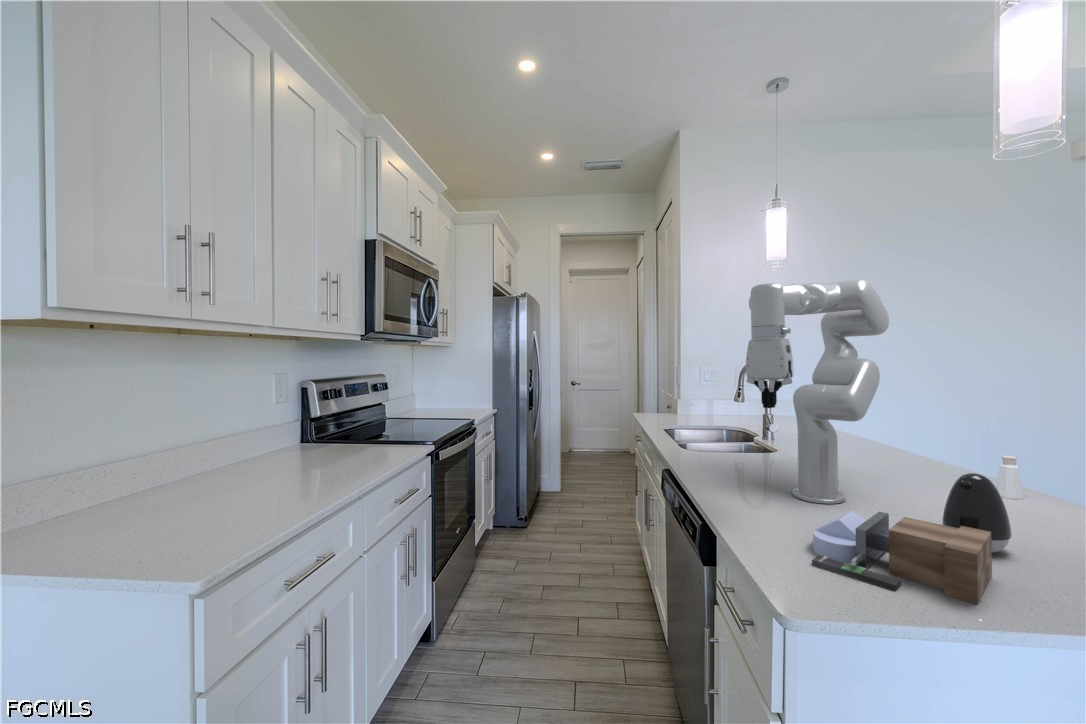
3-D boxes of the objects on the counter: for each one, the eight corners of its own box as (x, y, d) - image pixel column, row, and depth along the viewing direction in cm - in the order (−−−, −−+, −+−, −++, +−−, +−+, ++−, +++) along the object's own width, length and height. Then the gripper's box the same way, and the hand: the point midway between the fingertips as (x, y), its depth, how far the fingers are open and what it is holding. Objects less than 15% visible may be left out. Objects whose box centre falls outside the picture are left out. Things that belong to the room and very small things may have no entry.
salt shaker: (991, 492, 128) (990, 453, 128) (1015, 494, 127) (1015, 454, 127) (1003, 498, 123) (1003, 457, 123) (1029, 500, 122) (1028, 458, 121)
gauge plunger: (879, 545, 94) (879, 511, 94) (946, 562, 86) (945, 525, 86) (848, 572, 83) (847, 533, 83) (921, 594, 75) (920, 552, 75)
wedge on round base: (830, 535, 101) (806, 552, 93) (829, 505, 101) (805, 519, 93) (879, 548, 94) (857, 567, 86) (878, 515, 94) (857, 531, 86)
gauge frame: (846, 539, 99) (846, 502, 99) (992, 576, 81) (991, 531, 81) (812, 564, 87) (811, 523, 87) (972, 615, 69) (971, 562, 69)
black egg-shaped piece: (931, 543, 96) (930, 471, 95) (959, 534, 100) (957, 465, 100) (994, 563, 86) (993, 482, 86) (1022, 552, 90) (1021, 476, 90)
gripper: (806, 332, 110) (807, 408, 110) (746, 335, 122) (747, 404, 122) (792, 332, 106) (794, 411, 106) (731, 335, 117) (732, 406, 117)
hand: (769, 407), depth 114 cm, fingers closed
